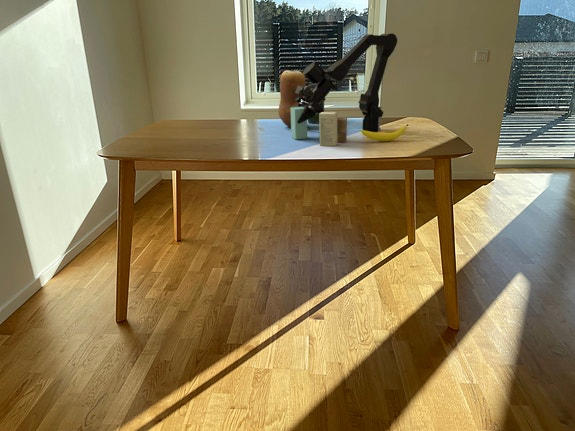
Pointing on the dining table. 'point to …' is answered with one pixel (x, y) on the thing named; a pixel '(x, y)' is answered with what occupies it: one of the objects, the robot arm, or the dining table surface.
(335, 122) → the skincare box
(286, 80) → the butternut squash
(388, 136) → the banana
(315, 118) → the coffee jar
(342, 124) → the walnut block
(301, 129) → the teal block
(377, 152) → the dining table surface
